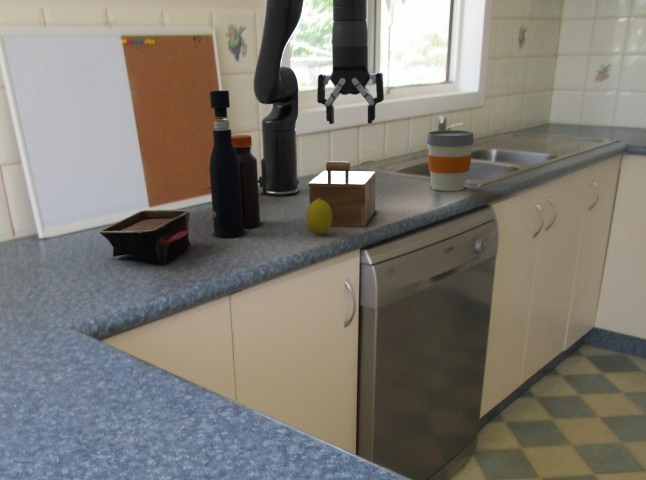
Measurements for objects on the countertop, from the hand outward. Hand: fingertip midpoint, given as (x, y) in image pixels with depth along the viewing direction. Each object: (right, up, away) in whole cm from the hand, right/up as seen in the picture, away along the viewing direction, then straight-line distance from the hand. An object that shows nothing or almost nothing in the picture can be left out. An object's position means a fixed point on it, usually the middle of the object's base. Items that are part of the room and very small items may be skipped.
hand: (350, 123), depth 146 cm
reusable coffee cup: (+30, -8, +40) cm, 50 cm away
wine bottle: (-27, -24, 0) cm, 36 cm away
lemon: (-7, -25, -3) cm, 26 cm away
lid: (-1, -11, +7) cm, 13 cm away
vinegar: (-24, -22, +7) cm, 33 cm away
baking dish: (-41, -30, -13) cm, 52 cm away
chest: (-1, -19, +11) cm, 22 cm away
